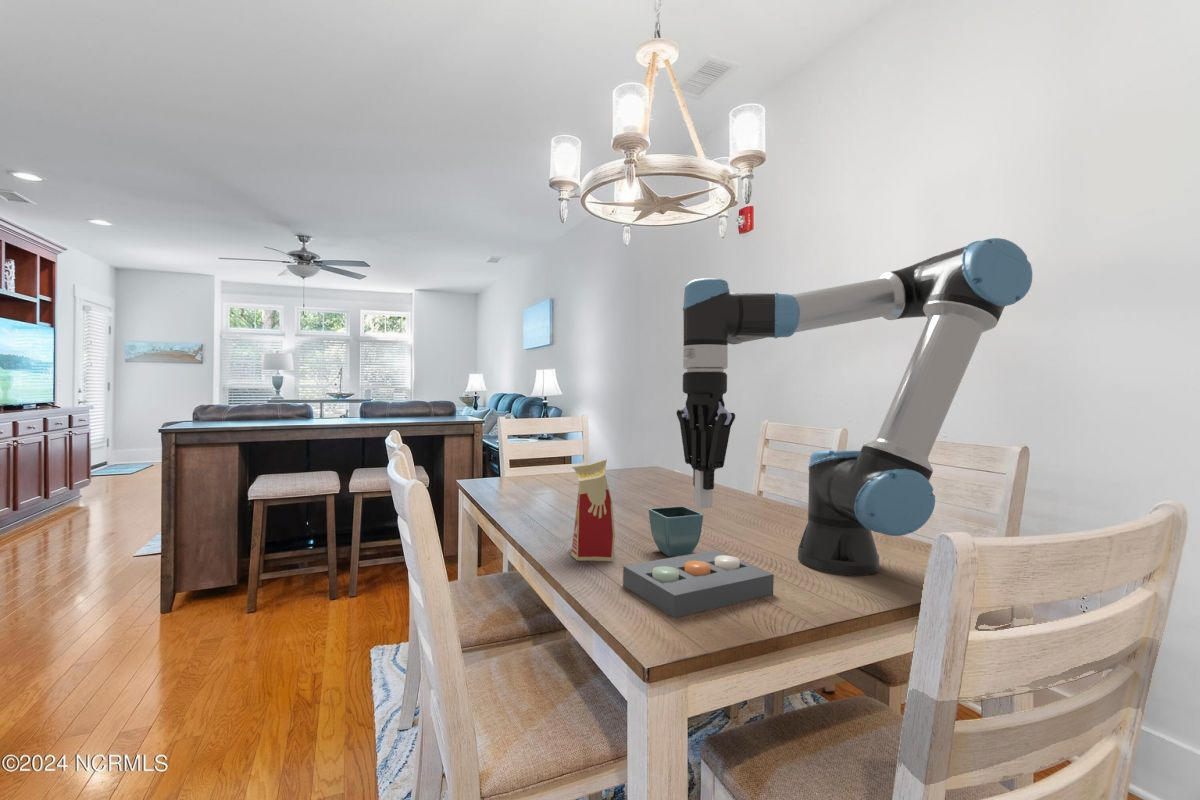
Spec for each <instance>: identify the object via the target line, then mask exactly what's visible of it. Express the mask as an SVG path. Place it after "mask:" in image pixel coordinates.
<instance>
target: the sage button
mask: <svg viewBox="0 0 1200 800" xmlns="http://www.w3.org/2000/svg"><path fill="white" fill-rule="evenodd" d="M652 578H653V579H655V580H657V581H659V582H660V583H667V582H672V581H677V580H679V571H678V570H677V569H676V568H673V567H667V566H660V567H655V568H653V570H652Z"/></svg>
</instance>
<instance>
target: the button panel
mask: <svg viewBox="0 0 1200 800" xmlns="http://www.w3.org/2000/svg"><path fill="white" fill-rule="evenodd" d="M721 555H726V556H729V555H728V554H726V553H723V552H721V551H719V550H717V549H716V550H715V549H713V550H708V551H703V552H702V551H701V552H695V553H692V554H689V555H683V556H675V557H668V558H661V559H656V560H648V561H644V562H638V563H637V562H636V563H633V564H627V565H623V568H622V569H623V571H622V572H623V574H622V585H623V587H625V588H626V589H628V590H629V591H631V592H632V593H634V594H636V595H637V596H639V597H641V598H642V599H644V600H645V601H646V602H648V603H650V604H651V605H653V606H654V607H656V608H657V609H659V610H661V611H663V612H664V613H665V614H666V615H669V616H670V617H672V618H673V619H676V618H680V617H684V616H689V615H693V614H697V613H702V612H706V611H709V610H713V609H714V610H715V609H718V608H723V607H726V606H731V605H735V604H739V603H743V602H747V601H752V600H756V599H759V598H764V597H768V596H773V595H774V583H775V582H774V580H775V579H774V578H775V577H774V576H775V574H774V573H771V572H769V571H767V570H764V569H762V568H760V567H757V566H754V565H753V564H750V563H748V562H745V561H742V560H740V568H737V569H732V570H727V571H726V570H723V569H721V568H719V567H717V566H715V557H717V556H721ZM688 561H703V562H706V563H708V564H710V574H707V575H702V576H697V577H695V576H693V575H691V574H689V573H687V572H685V563H686V562H688ZM660 566H667V567H673V568H676V569H677V570H678V571H679V580H677V581H672V582H667V583H660V582H659V581H657V580H655V579H653V578H652V570H653V568H655V567H660Z"/></svg>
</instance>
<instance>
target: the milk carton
mask: <svg viewBox="0 0 1200 800" xmlns="http://www.w3.org/2000/svg"><path fill="white" fill-rule="evenodd" d="M606 468H607V458H605V459H602V460H600V461H596V462H593V463H590V464H584V465H576V466H575V465H574V466H572V469H573V470H574V471H575V474H576V476H577V478H578V480H579V481H578V490H577V491H578V492H577V500H576V511H575V518H574V519H575V521H574V528H573V534H572V535H573V536H572V537H573V538H572V544H571V552H570V555H571V556H572V558H574V559H575V560H576V561H599V562H614V558H615V557H614V555H615V554H614V553H615V541H616V529H615V518H614V517H615V516H614V508H613V506H614V505H613V504H614V503H613V499H612V495H611V492H610V488H609V484H608V481H607V477H606Z"/></svg>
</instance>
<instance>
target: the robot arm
mask: <svg viewBox="0 0 1200 800" xmlns="http://www.w3.org/2000/svg"><path fill="white" fill-rule="evenodd" d="M1032 282H1033V267H1032V263H1031V262H1030V261H1029V260H1028V255H1027V254H1026V252H1025V251H1024V250H1023V249H1022V248H1021V247H1020V246H1019V245H1017V244H1016V243H1015V242H1012V241H1010V240H1008V239H1006V238H999V237H997V238H996V237H994V238H993V237H991V238H987V239H983V240H976V241H973V242H971V243H968V244H967V245H966V246H962V247H960V248H957V249H954V250H951V251H947V252H944V253H941V254H939V255H935V256H931V257H929V258H927V259H925V260H922V261H919V262H917V263H915V264H912V265H910V266H906V267H904V268H903V267H902V268H901V269H897V270H892V271H887V272H883V273H882V274H881V275H879V277H878V278H876V279H871V280H865V281H860V282H854V283H848V284H844V285H843V284H842V285H838V286H833V287H827V288H822V289H817V290H810V291H804V292H799V293H794V294H787V293H786V294H785V293H778V292H775V293H757V292H756V293H754V292H753V293H750V292H749V293H747V292H746V293H744V292H743V293H742V292H741V293H740V292H734V291H733V292H732V291H731V292H730V288H729V283H728V281H727V280H725V279H722V278H719V279H718V278H715V277H713V278H712V277H710V278H709V277H708V278H707V277H706V278H698V279H693V280H690V281H689V282H687V284H686V285H685V288H684V294H683V307H682V313H683V315H682V317H683V318H682V319H683V353H682V354H683V358H682V361H683V362H682V368H683V369H685V370H686V371H685V372H683V374H682V392H683V394H686V395H687V397H686V400H685V406H684V408H683V409H677V411H676V417H677V419H678V422H679V426H680V434H681V440H682V449H683V457H684V462H685V464H687V465H690V467H691V468H692V470H693V471H692V472H693V473H692V474H693V475H692V476H693V477H692V479H693V481H692V482H693V483H692V484H693V487H694V506H693V507H694V508H696V509H698V510H702V509H709V508H713V490H714V488H715V472H716V470H718V469H722V468H724V466H725V460H726V457H727V456H726V454H727V450H728V449H727V448H728V445H729V439H730V433H731V429H732V425H733V423H734V421H735V420H736V414H735V413H734V412H729V411H728V410H727V408H725V407H726V406H725V401H724V398H723V397H724V394H726V393H727V392H728V374H727V373H726V372H724V371H725V370H726V369H727V368H728V364H729V363H728V362H729V361H728V352H729V351H728V345H739V344H742V343H747V342H751V341H757V340H762V339H763V340H764V339H765V338H774V339H778V338H789V337H791V336H793V335H794V334H795V333H798V332H800V333H801V332H805V331H810V330H811V331H812V330H815V329H816V330H817V329H822V328H827V327H833V326H839V325H844V324H850V323H856V322H861V321H865V320H866V321H867V320H871V319H872V320H874V319H876V318H877V319H878V318H883V319H885V320H886V321H895V320H896V321H897V320H900V319H908V318H909V319H910V318H922V317H923V318H927V321H926V323H925V325H924V327H923V330H922V333H921V334H920V337H919V339H918V341H917V344H916V346H915V349H914V351H913V353H912V356H911V357H910V359H909V362H908V364H907V367H906V369H905V371H904V372H903V376H902V378H901V380H900V383H899V385H898V388H897V390H896V392H895V394H894V397H893V399H892V401H891V403H890V406H889V408H888V411H887V413H886V415H885V417H884V419H883V422H882V424H881V427H880V429H879V431H878V433H877V436H876V438H875V439H874V440H872V441H868V442H866V443H864V444H863V445H862V447H861V450H814V451H813V452H812V453H811V454H810V456H809V463H808V464H809V465H808V499H807V501H808V504H807V505H808V507H807V508H808V509H807V517H808V518H807V523H806V526H805V528H804V529H805V530H804V532H803V534H802V537H801V540H800V543H799V545H798V548H797V559H798V562H800V563H801V564H802V565H805V566H807V567H809V568H812V569H814V570H817V571H821V572H825V573H830V574H835V575H844V576H869V575H870V576H871V575H873V574H876V573H878V572H879V571H880V560H881V559H880V555H879V553H878V550H877V545H876V543H875V539H874V536H873V534H872V531H873V532H874V533H879V534H883V535H886V536H890V537H901V536H905V535H908V534H911V533H914V532H917V531H918V530H919V529H921V528H922V527H924V526H925V524H926V523H927V522H928V521H929V520H930V518H931V516H932V515H933V513H934V510H935V506H936V495H935V494H934V493H933V491H934V487H933V485H932V484H931V482H930V479H931V477H932V475H933V472H934V469H933V467H932V466H931V464H930V461H929V456H930V454H931V452H932V449H933V447H934V445H935V442H936V439H937V438H938V436H939V433H940V431H941V429H942V427H943V424H944V421H945V419H946V417H947V415H948V413H949V410H950V408H951V406H952V403H953V401H954V398H955V397H956V393H957V391H958V390H959V387H960V385H961V383H962V380H963V377H964V375H965V374H966V370H967V369H968V366H969V364H970V361H971V360H972V357H973V354H974V352H975V350H976V348H977V345H978V343H979V341H980V339H981V336H982V334H983V333H985V332H987V331H990V330H992V329H995V328H996V326H997V325H998V323H999V321H1000V318H1001V317H1002V314H1003V311H1004V309H1005V307H1007V306H1008V307H1009V306H1012V305H1015V304H1016V303H1018V302H1019V301H1021V300H1022V299H1024V298H1025V297H1026V296H1027V294H1028V292H1029V291H1030V289H1031V286H1032Z"/></svg>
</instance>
